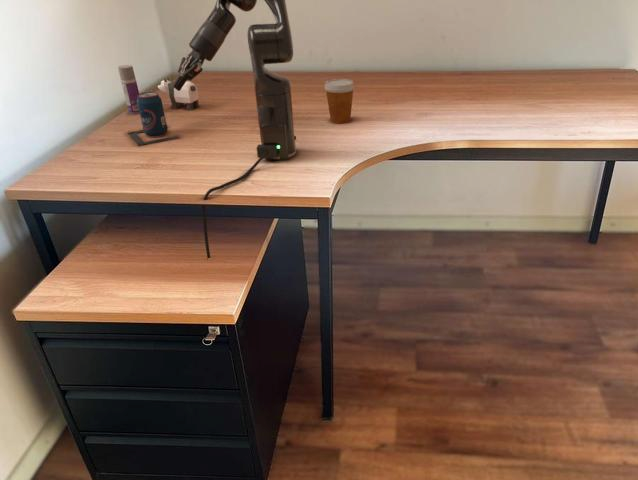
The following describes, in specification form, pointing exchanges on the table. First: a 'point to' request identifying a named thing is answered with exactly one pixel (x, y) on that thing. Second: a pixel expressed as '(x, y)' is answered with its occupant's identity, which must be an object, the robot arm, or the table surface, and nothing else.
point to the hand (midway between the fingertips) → (175, 88)
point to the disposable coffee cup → (339, 99)
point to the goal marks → (140, 141)
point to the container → (129, 87)
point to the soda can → (152, 114)
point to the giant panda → (180, 94)
